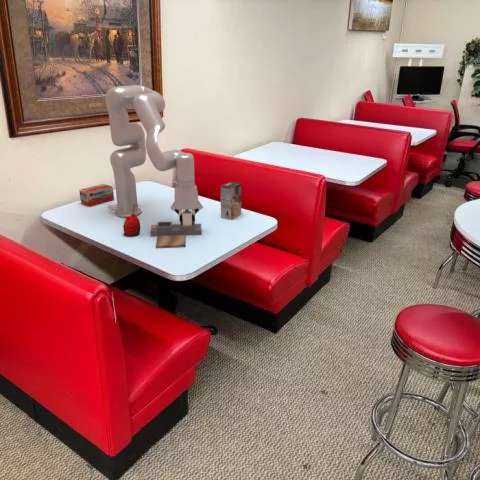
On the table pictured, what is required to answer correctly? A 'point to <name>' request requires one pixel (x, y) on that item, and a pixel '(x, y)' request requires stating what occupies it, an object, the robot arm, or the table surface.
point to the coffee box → (230, 200)
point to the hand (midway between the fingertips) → (187, 222)
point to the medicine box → (96, 195)
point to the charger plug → (187, 217)
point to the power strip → (174, 229)
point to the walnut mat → (171, 241)
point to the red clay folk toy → (131, 224)
